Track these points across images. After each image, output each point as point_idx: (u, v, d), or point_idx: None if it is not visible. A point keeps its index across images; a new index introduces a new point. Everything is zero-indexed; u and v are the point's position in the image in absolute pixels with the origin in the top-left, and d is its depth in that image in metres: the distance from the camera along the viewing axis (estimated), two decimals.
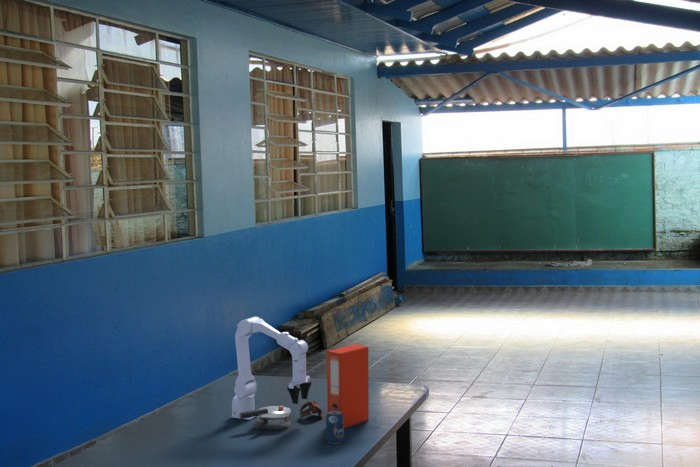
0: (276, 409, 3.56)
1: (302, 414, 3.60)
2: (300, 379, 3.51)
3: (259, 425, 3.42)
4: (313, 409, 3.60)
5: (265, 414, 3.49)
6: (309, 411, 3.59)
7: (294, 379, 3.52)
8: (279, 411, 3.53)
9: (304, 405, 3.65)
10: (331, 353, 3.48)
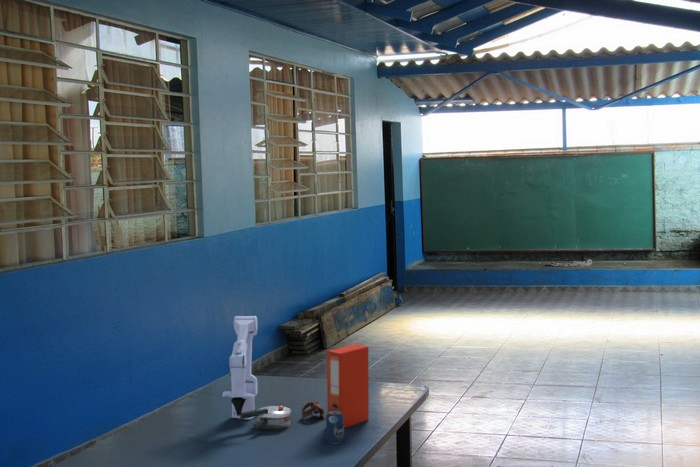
0: (276, 409, 3.56)
1: (304, 414, 3.60)
2: (231, 392, 3.46)
3: (259, 425, 3.42)
4: (315, 409, 3.59)
5: (265, 414, 3.49)
6: (311, 411, 3.59)
7: None
8: (279, 411, 3.53)
9: (306, 405, 3.65)
10: (331, 353, 3.48)
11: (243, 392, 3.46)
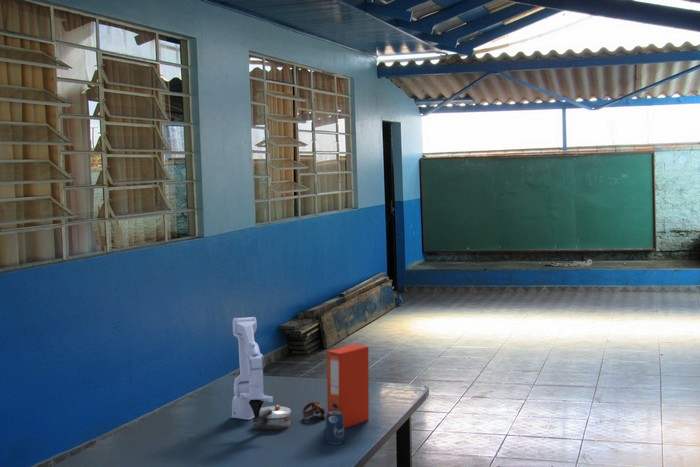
0: (272, 409, 3.57)
1: (305, 414, 3.60)
2: (249, 394, 3.43)
3: (259, 425, 3.42)
4: (316, 409, 3.59)
5: (273, 414, 3.49)
6: (312, 411, 3.59)
7: None
8: (279, 410, 3.55)
9: (307, 405, 3.64)
10: (331, 353, 3.48)
11: (261, 394, 3.42)
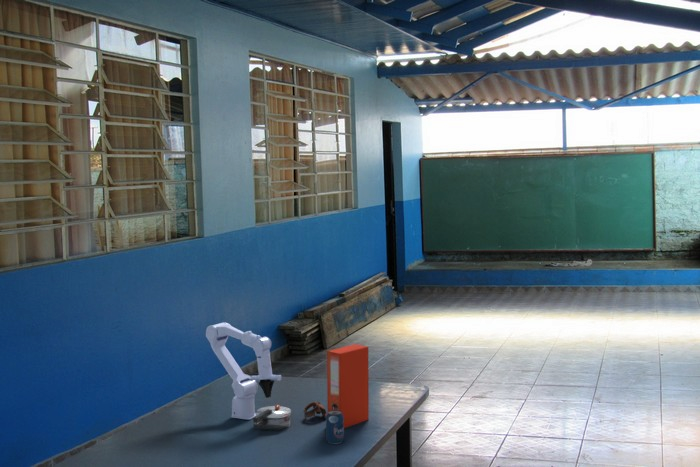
0: (272, 409, 3.57)
1: (306, 415, 3.60)
2: (258, 375, 3.58)
3: (259, 425, 3.42)
4: (318, 410, 3.59)
5: (273, 414, 3.49)
6: (314, 412, 3.58)
7: None
8: (279, 410, 3.55)
9: (308, 406, 3.64)
10: (331, 353, 3.48)
11: (270, 374, 3.57)
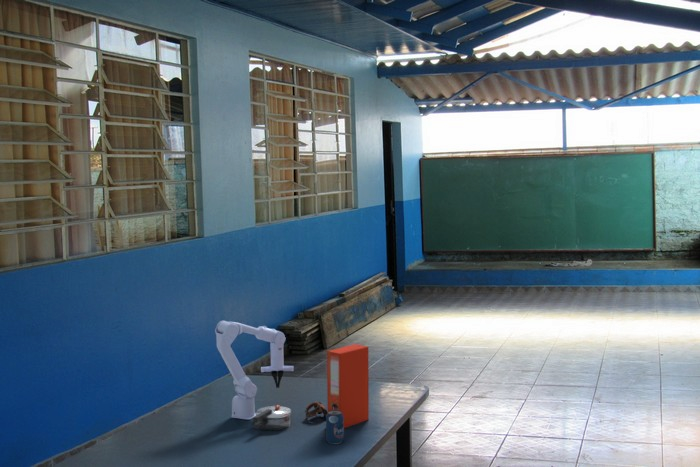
0: (272, 409, 3.57)
1: (308, 415, 3.59)
2: (272, 366, 3.73)
3: (259, 425, 3.42)
4: (319, 410, 3.59)
5: (273, 414, 3.49)
6: (315, 412, 3.58)
7: None
8: (279, 410, 3.55)
9: (309, 406, 3.64)
10: (331, 353, 3.48)
11: (283, 365, 3.74)
